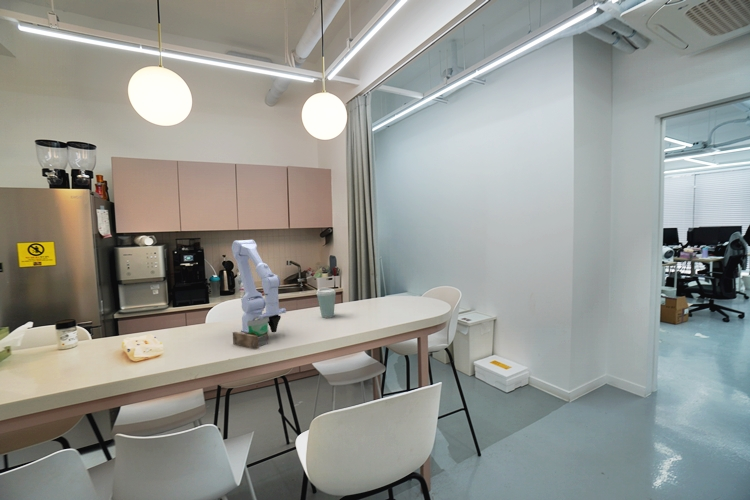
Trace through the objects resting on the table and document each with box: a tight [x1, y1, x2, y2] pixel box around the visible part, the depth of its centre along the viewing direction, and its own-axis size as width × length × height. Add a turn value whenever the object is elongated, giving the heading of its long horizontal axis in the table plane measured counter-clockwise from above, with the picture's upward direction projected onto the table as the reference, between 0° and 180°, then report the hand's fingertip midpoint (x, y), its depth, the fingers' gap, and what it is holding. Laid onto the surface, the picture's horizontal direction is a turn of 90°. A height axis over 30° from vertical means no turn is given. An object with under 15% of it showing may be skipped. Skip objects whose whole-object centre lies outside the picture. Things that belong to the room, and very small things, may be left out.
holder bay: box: [232, 331, 268, 350], centre depth 141 cm, size 14×7×5 cm, turn 60°
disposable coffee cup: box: [316, 287, 337, 319], centre depth 181 cm, size 11×11×15 cm
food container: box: [247, 313, 269, 340], centre depth 145 cm, size 12×6×10 cm, turn 171°
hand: (273, 331), depth 152 cm, fingers closed
